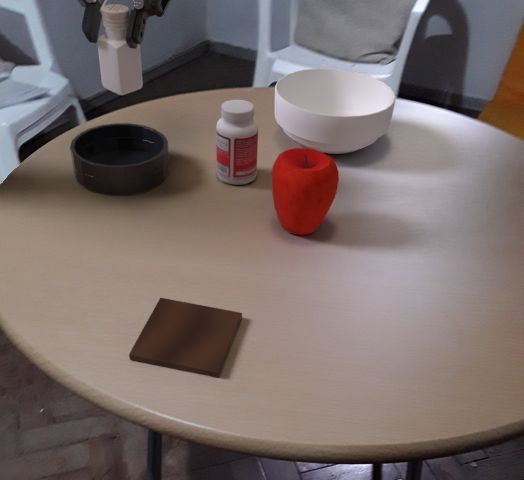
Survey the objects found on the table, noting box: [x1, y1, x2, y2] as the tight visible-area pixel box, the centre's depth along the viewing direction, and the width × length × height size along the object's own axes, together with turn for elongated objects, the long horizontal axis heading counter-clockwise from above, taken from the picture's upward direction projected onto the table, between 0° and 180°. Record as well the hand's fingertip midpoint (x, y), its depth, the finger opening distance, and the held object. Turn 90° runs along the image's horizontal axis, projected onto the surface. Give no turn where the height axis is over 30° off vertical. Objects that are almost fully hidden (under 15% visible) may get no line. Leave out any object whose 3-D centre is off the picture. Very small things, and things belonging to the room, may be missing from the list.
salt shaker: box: [96, 3, 144, 96], centre depth 77 cm, size 4×4×10 cm
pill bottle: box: [215, 99, 259, 186], centre depth 93 cm, size 6×6×11 cm
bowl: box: [274, 67, 397, 155], centre depth 105 cm, size 20×20×8 cm
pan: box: [69, 122, 170, 196], centre depth 95 cm, size 14×14×4 cm
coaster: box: [128, 297, 243, 378], centre depth 70 cm, size 10×10×1 cm
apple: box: [271, 147, 340, 236], centre depth 84 cm, size 9×9×11 cm
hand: (110, 41), depth 75 cm, fingers closed on salt shaker, 4 cm apart
